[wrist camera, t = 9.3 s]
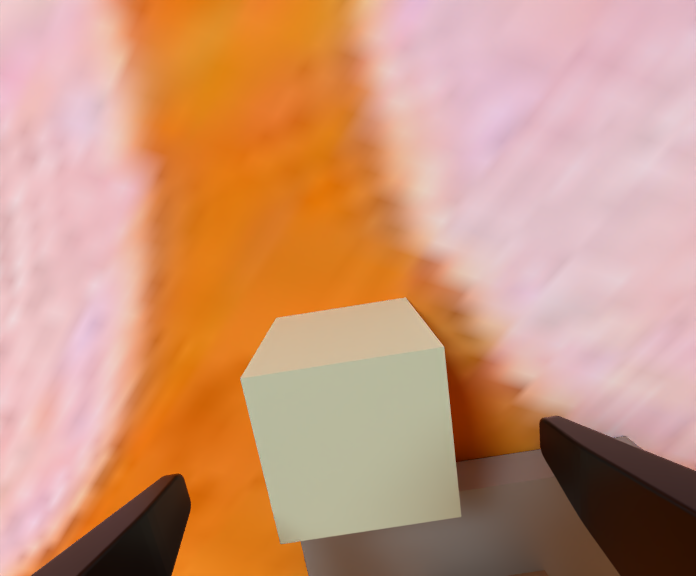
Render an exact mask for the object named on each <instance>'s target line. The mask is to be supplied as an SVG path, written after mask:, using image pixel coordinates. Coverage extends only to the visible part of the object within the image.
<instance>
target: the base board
mask: <svg viewBox="0 0 696 576" xmlns="http://www.w3.org/2000/svg"><path fill="white" fill-rule="evenodd" d="M615 439H617V440H620V441H622V442H625V443H627V444H630V445H632V446H635V447H637V448H639V449H641V448H640V447H639V446H637V445H636V444H635V443H634V442H632V441H631V440H630V439H628V438H627V437H626V436H623V437H617V438H615ZM642 450H643V449H642ZM456 468H457V478H458V488H459V498H460V508H461V517H457V518H450V519H444V520H437V521H431V522H424V523H417V524H411V525H404V526H398V527H391V528H384V529H378V530H371V531H365V532H358V533H351V534H345V535H338V536H332V537H325V538H318V539H312V540H305V541H301V545H302V549H303V553H304V558H305V562H306V567H307V571H308V575H309V576H508V575H515V574H522V573H528V572H535V571H542V570H545V572H546V573H547V575H548V576H620V575H619V573H618V572H617V570H616V569H615V568H614V566H613V565H612V563H611V562H610V561H609V559H608V558H607V556H606V555H605V554H604V552H603V551H602V549H601V548H600V547H599V545H598V544H597V542H596V541H595V540H594V538H593V537H592V536H591V534H590V533H589V531H588V530H587V528H586V527H585V526H584V524H583V523H582V521H581V520H580V518H579V516H578V515H577V513H576V512H575V510H574V508H573V507H572V505H571V503H570V502H569V500H568V498H567V496H566V495H565V493H564V491H563V490H562V488H561V486H560V485H559V483H558V481H557V479H556V478H555V476H554V474H553V473H552V471H551V469H550V467H549V466H548V464H547V462H546V461H545V459H544V457H543V455H542V452H541V449H539V450H532V451H526V452H519V453H513V454H506V455H500V456H493V457H487V458H480V459H474V460H467V461H461V462H456Z"/></svg>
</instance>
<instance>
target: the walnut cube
mask: <svg viewBox="0 0 696 576" xmlns="http://www.w3.org/2000/svg"><path fill="white" fill-rule="evenodd" d="M508 576H548V575H547V573H546V572H545V570H542V571H535V572H528V573H522V574H515V575H508Z"/></svg>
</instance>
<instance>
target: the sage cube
mask: <svg viewBox="0 0 696 576" xmlns="http://www.w3.org/2000/svg"><path fill="white" fill-rule="evenodd" d="M240 379H241V383H242V388H243V392H244V396H245V400H246V404H247V408H248V412H249V416H250V420H251V425H252V429H253V433H254V437H255V441H256V445H257V449H258V453H259V457H260V462H261V466H262V470H263V474H264V478H265V482H266V486H267V490H268V494H269V498H270V503H271V507H272V511H273V515H274V519H275V523H276V527H277V531H278V535H279V540H280V544H285V543H292V542H299V541H305V540H312V539H318V538H325V537H332V536H338V535H345V534H351V533H358V532H365V531H371V530H378V529H384V528H391V527H398V526H404V525H411V524H417V523H424V522H431V521H437V520H444V519H450V518H457V517H461V508H460V498H459V488H458V478H457V468H456V459H455V449H454V439H453V429H452V419H451V409H450V399H449V390H448V380H447V370H446V360H445V350H444V346H443V345H442V343H441V342H440V341H439V340H438V338H437V337H436V336H435V334H434V333H433V332H432V331H431V329H430V328H429V327H428V325H427V324H426V323H425V322H424V320H423V319H422V318H421V316H420V315H419V314H418V313H417V311H416V310H415V309H414V308H413V306H412V305H411V304H410V302H409V301H408V300H407V299H406V298H400V299H394V300H387V301H381V302H375V303H368V304H362V305H356V306H349V307H343V308H337V309H330V310H324V311H318V312H311V313H305V314H298V315H292V316H286V317H279V318H276V319H275V321H274V323H273V324H272V326H271V328H270V329H269V331H268V333H267V334H266V336H265V338H264V339H263V341H262V343H261V345H260V346H259V348H258V350H257V351H256V353H255V355H254V356H253V358H252V360H251V361H250V363H249V365H248V366H247V368H246V370H245V371H244V373H243V375H242V376H241V378H240Z"/></svg>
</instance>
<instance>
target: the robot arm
mask: <svg viewBox="0 0 696 576" xmlns="http://www.w3.org/2000/svg"><path fill="white" fill-rule="evenodd" d="M539 427H540V448H541V452H542V455H543V457H544V459H545V461H546V462H547V464H548V466H549V467H550V469H551V471H552V473H553V474H554V476H555V478H556V479H557V481H558V483H559V485H560V486H561V488H562V490H563V491H564V493H565V495H566V496H567V498H568V500H569V502H570V503H571V505H572V507H573V508H574V510H575V512H576V513H577V515H578V516H579V518H580V520H581V521H582V523H583V524H584V526H585V527H586V528H587V530H588V531H589V533H590V534H591V536H592V537H593V538H594V540H595V541H596V542H597V544H598V545H599V547H600V548H601V549H602V551H603V552H604V554H605V555H606V556H607V558H608V559H609V561H610V562H611V563H612V565H613V566H614V568H615V569H616V570H617V572H618V573H619V575H620V576H696V471H694V470H692V469H689V468H687V467H684V466H682V465H679V464H677V463H674V462H672V461H669V460H667V459H664V458H662V457H659V456H657V455H654V454H652V453H649V452H647V451H644V450H642V449H639V448H637V447H635V446H632V445H630V444H627V443H625V442H622V441H620V440H617V439H615V438H612V437H610V436H607V435H605V434H602V433H600V432H597V431H595V430H592V429H590V428H587V427H585V426H582V425H580V424H577V423H575V422H572V421H570V420H567V419H565V418H562V417H560V416H551V417H545V418H542V419H541V420H540V423H539ZM190 509H191V501H190V497H189V494H188V490H187V487H186V484H185V480H184V478H183V476H182V475H181V474H172V475H166V476H163V477H162V478H160V479H159V480H158V481H156V482H155V483H154V484H152V485H151V486H150V487H148V488H147V489H146V490H144V491H143V492H142V493H140V494H139V495H138V496H136V497H135V498H134V499H132V500H131V501H130V502H128V503H127V504H126V505H124V506H123V507H122V508H120V509H119V510H118V511H116V512H115V513H114V514H112V515H111V516H110V517H108V518H107V519H106V520H104V521H103V522H102V523H100V524H99V525H98V526H96V527H95V528H94V529H92V530H91V531H90V532H88V533H87V534H86V535H84V536H83V537H82V538H80V539H79V540H78V541H76V542H75V543H74V544H72V545H71V546H70V547H68V548H67V549H66V550H64V551H63V552H62V553H60V554H59V555H58V556H56V557H55V558H54V559H52V560H51V561H50V562H48V563H47V564H46V565H45V566H43V567H42V568H41V569H39V570H38V571H37V572H35V573H34V574H33V575H31V576H171V575H172V572H173V569H174V565H175V562H176V558H177V555H178V552H179V548H180V545H181V541H182V538H183V534H184V531H185V527H186V524H187V520H188V517H189V514H190Z"/></svg>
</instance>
